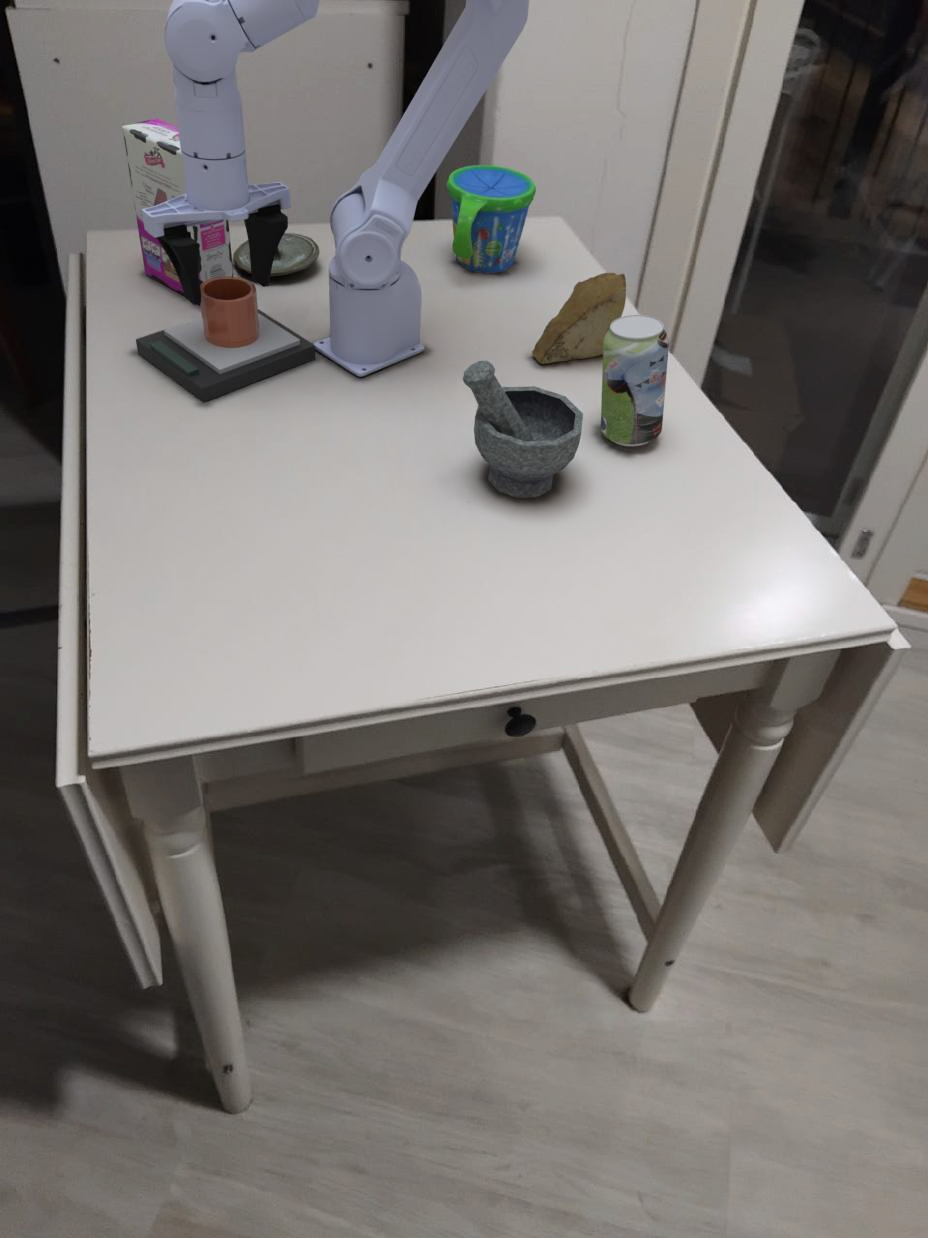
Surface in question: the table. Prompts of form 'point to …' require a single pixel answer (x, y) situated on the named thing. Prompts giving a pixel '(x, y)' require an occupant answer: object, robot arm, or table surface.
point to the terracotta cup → (229, 311)
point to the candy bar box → (158, 182)
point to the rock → (583, 320)
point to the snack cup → (488, 215)
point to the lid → (283, 255)
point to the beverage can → (634, 380)
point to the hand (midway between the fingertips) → (227, 291)
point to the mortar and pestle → (522, 432)
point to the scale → (223, 356)
